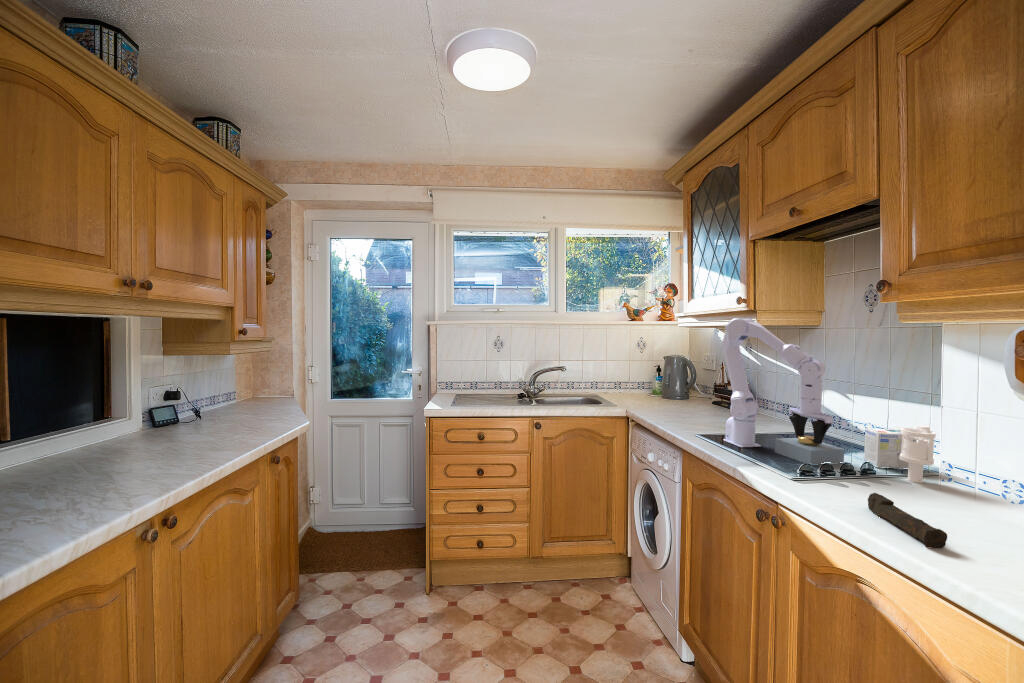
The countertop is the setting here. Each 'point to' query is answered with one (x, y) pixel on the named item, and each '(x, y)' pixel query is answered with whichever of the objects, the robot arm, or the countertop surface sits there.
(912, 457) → the strainer
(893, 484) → the countertop surface
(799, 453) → the block
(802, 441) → the brass door knob
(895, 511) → the brown wooden log
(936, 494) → the countertop surface
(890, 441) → the light bulb box
